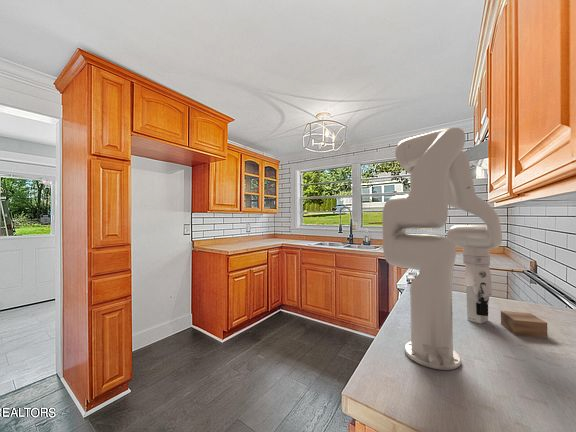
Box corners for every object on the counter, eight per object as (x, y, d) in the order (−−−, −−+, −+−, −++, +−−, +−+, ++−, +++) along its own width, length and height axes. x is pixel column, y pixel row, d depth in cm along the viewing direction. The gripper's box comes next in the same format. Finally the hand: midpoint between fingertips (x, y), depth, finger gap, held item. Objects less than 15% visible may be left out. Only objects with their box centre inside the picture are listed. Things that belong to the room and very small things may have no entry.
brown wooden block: (547, 338, 74) (547, 322, 74) (514, 334, 77) (514, 320, 77) (530, 326, 82) (530, 313, 82) (501, 324, 84) (500, 310, 84)
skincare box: (481, 324, 84) (480, 288, 85) (466, 319, 88) (465, 285, 88) (488, 320, 88) (488, 285, 88) (473, 316, 92) (473, 282, 92)
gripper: (502, 265, 79) (503, 322, 79) (478, 256, 95) (479, 303, 95) (473, 264, 81) (475, 319, 81) (455, 256, 98) (456, 302, 97)
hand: (477, 310), depth 88 cm, fingers closed on skincare box, 7 cm apart
